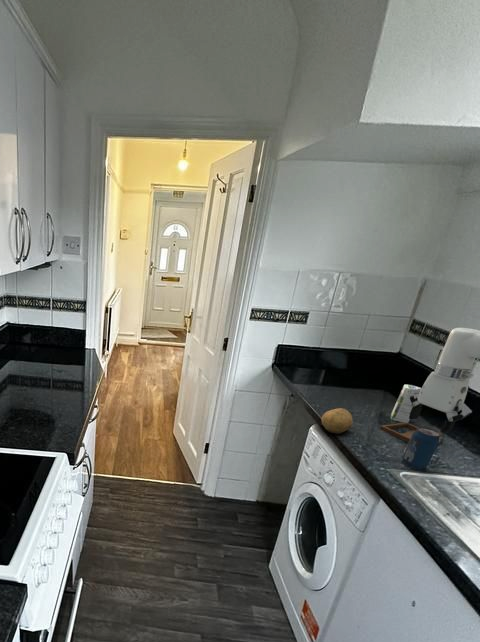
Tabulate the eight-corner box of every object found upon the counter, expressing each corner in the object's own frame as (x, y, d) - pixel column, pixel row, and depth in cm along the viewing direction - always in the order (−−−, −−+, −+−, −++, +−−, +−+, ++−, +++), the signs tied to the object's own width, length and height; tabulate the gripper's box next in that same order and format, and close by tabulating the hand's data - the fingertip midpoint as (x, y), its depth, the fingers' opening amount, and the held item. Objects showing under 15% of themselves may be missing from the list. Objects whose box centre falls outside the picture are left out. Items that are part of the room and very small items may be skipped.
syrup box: (389, 416, 168) (403, 383, 162) (406, 420, 166) (421, 387, 160) (390, 421, 164) (404, 387, 158) (408, 425, 161) (423, 391, 155)
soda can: (428, 465, 132) (444, 432, 126) (423, 473, 127) (440, 439, 122) (403, 456, 136) (417, 424, 131) (398, 463, 132) (413, 430, 126)
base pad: (441, 443, 148) (443, 438, 147) (414, 447, 144) (416, 441, 143) (405, 427, 159) (407, 422, 159) (379, 430, 155) (381, 425, 154)
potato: (312, 431, 151) (318, 412, 147) (325, 421, 160) (332, 402, 156) (340, 442, 145) (348, 421, 141) (353, 431, 154) (360, 411, 150)
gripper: (493, 381, 113) (467, 436, 120) (430, 362, 128) (409, 413, 135) (475, 382, 111) (449, 439, 118) (413, 363, 126) (393, 414, 133)
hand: (428, 425), depth 126 cm, fingers open, 9 cm apart
